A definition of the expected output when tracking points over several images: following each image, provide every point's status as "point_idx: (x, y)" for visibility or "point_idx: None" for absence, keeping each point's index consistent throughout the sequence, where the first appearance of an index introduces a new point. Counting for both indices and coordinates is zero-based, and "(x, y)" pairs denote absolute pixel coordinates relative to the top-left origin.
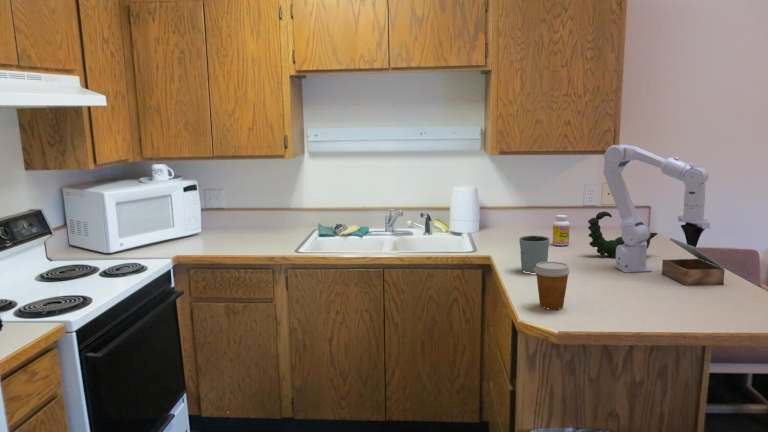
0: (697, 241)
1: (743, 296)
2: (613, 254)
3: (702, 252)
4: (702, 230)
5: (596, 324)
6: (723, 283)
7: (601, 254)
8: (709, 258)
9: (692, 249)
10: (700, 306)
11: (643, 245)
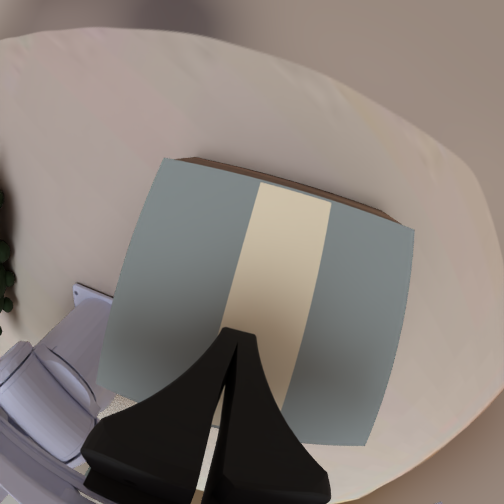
0: (260, 366)
1: (472, 270)
2: (9, 285)
3: (384, 393)
4: (306, 463)
5: (371, 485)
6: (382, 211)
7: (12, 308)
8: (395, 337)
9: (322, 409)
10: (434, 396)
11: (89, 392)
